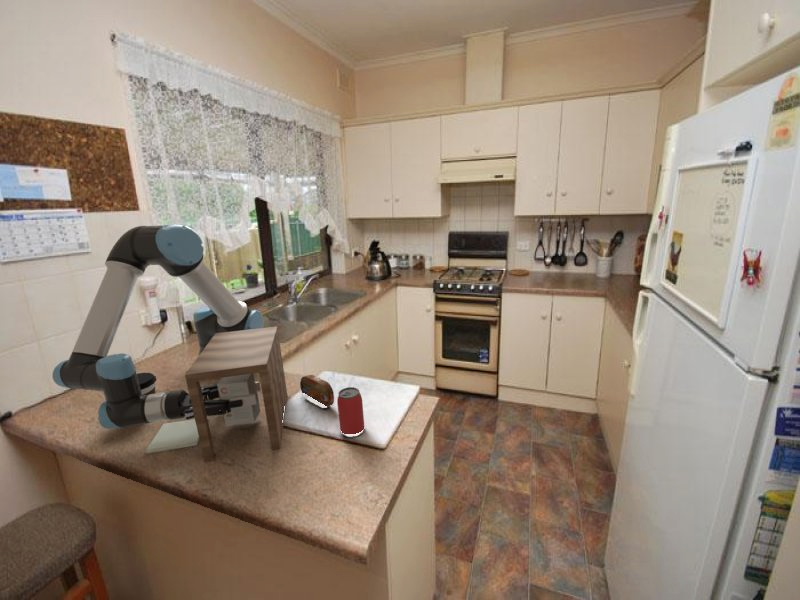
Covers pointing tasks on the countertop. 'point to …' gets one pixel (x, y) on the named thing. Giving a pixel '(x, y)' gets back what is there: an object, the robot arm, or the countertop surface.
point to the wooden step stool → (240, 358)
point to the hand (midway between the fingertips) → (257, 392)
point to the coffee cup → (147, 383)
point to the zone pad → (175, 436)
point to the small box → (237, 388)
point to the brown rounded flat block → (317, 389)
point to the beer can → (350, 411)
